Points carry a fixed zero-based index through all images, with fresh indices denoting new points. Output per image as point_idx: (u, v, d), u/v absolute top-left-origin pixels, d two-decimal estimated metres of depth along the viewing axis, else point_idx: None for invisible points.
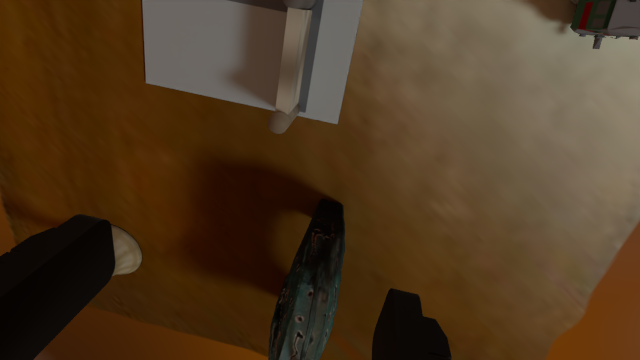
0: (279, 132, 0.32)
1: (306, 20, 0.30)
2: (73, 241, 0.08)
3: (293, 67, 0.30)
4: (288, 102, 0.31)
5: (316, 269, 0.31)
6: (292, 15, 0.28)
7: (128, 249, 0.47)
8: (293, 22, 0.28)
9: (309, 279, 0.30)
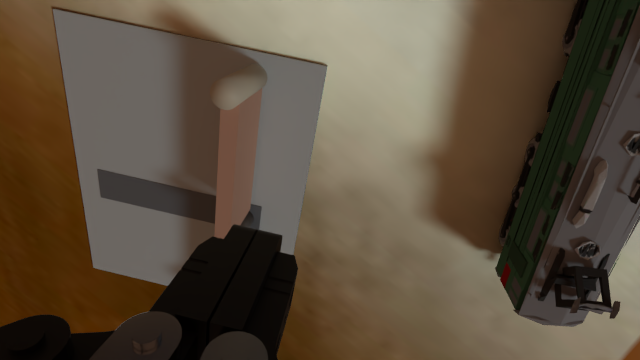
0: None
1: None
2: (245, 250, 0.09)
3: None
4: None
5: None
6: None
7: None
8: None
9: None
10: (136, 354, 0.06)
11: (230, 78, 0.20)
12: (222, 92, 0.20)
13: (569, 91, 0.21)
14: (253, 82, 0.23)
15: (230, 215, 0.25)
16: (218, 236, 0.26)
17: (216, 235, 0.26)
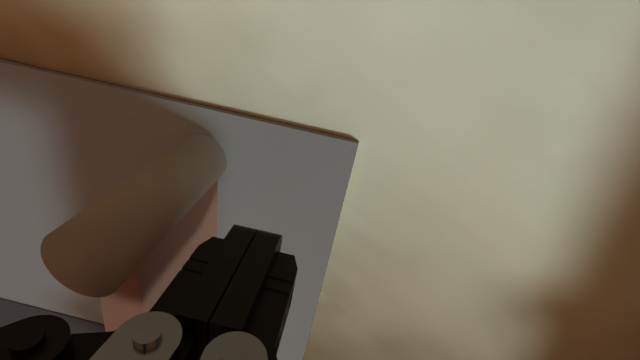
0: None
1: None
2: (245, 250, 0.09)
3: None
4: None
5: None
6: None
7: None
8: None
9: None
10: (137, 354, 0.06)
11: (96, 219, 0.07)
12: (74, 259, 0.07)
13: None
14: (180, 194, 0.10)
15: None
16: None
17: None
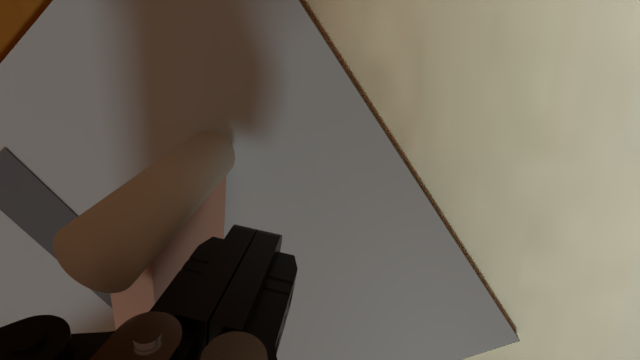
0: None
1: None
2: (245, 250, 0.09)
3: None
4: None
5: None
6: None
7: None
8: None
9: None
10: (136, 354, 0.06)
11: (111, 213, 0.07)
12: (87, 254, 0.07)
13: None
14: (192, 189, 0.10)
15: None
16: None
17: None
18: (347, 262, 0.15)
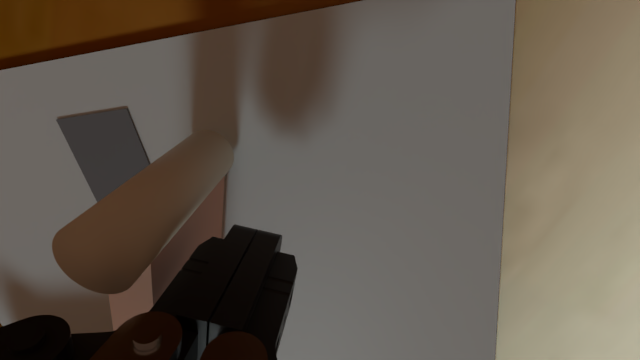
0: None
1: None
2: (245, 250, 0.09)
3: None
4: None
5: None
6: None
7: None
8: None
9: None
10: (136, 354, 0.06)
11: (110, 214, 0.07)
12: (87, 255, 0.07)
13: None
14: (191, 189, 0.10)
15: None
16: None
17: None
18: (399, 332, 0.16)
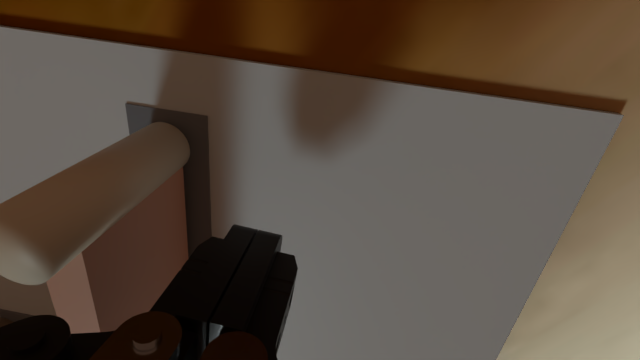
0: None
1: None
2: (245, 250, 0.09)
3: None
4: None
5: None
6: None
7: None
8: None
9: None
10: (136, 354, 0.06)
11: (26, 202, 0.07)
12: (3, 245, 0.07)
13: None
14: (130, 180, 0.09)
15: None
16: None
17: None
18: None
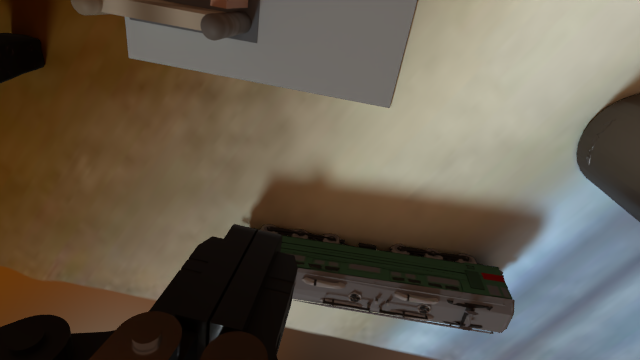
0: (73, 3, 0.26)
1: None
2: (245, 250, 0.09)
3: (152, 20, 0.27)
4: (114, 13, 0.27)
5: None
6: (201, 20, 0.27)
7: None
8: (195, 21, 0.27)
9: None
10: (136, 354, 0.06)
11: None
12: None
13: (375, 258, 0.37)
14: None
15: None
16: (214, 1, 0.25)
17: (212, 0, 0.25)
18: (362, 15, 0.30)
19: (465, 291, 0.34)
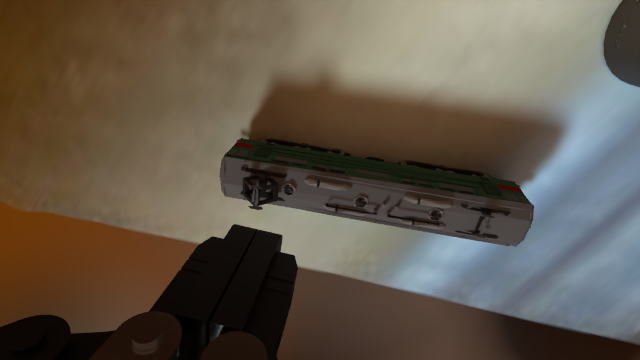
0: None
1: None
2: (245, 250, 0.09)
3: None
4: None
5: None
6: None
7: None
8: None
9: None
10: (136, 354, 0.06)
11: None
12: None
13: (383, 166, 0.34)
14: None
15: None
16: None
17: None
18: None
19: (481, 195, 0.31)
